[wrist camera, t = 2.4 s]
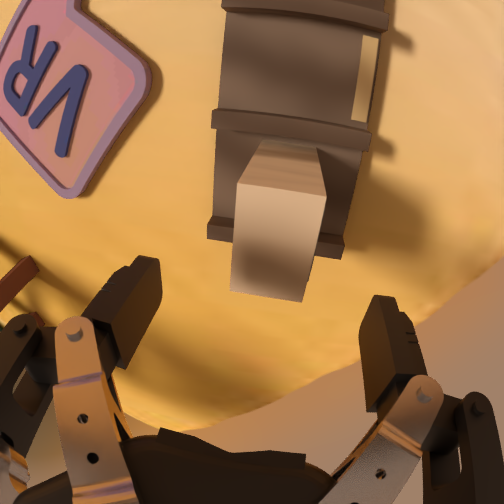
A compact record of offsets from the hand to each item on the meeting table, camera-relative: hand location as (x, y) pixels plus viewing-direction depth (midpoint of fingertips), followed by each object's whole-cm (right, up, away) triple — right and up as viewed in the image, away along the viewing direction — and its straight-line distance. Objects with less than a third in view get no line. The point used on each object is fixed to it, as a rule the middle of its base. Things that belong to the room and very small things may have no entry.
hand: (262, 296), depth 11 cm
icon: (-17, +18, +8) cm, 26 cm away
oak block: (+2, +7, +10) cm, 12 cm away
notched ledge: (+3, +14, +6) cm, 15 cm away
